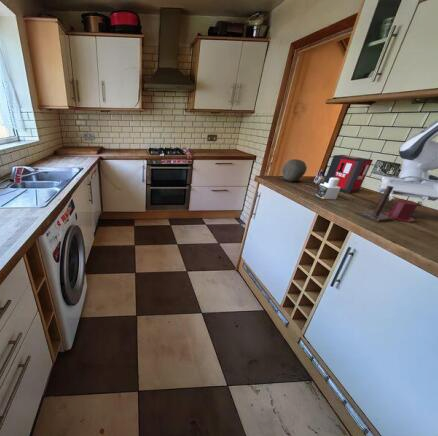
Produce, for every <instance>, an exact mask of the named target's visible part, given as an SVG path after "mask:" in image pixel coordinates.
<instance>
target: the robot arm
mask: <svg viewBox="0 0 438 436" xmlns="http://www.w3.org/2000/svg"><path fill="white" fill-rule="evenodd" d="M436 137H438V119H436V120H435V121H434V122H433V123H431V124H429V125H428V126H427V127H425V128H424V129H423V130H422V131H420V132H419V133H417V134H416V135H414V136H412V137H410V138H409V139H407V140H405V141H404V142H403V143H402V144H401V145H400V146H399V148H398V154H399V157H400V158H401V159H403V161H402V163H401V170H399V171H400V172H399V173H398V175H397V176H396V175H389V174H386V175H383V176H382V177H381V178H380V182H381V183H380V185H379V187H378V189H377V190H378V191H379V192H380V193H384V192H385V190H386V188H387V186H393V189H392V191H391V193H390V195H389V197H388V201H389V202H394V201H395V199H396V196H393V195H397V196H402V197H409V198H415V199H421V200H419V201H417V202H416V203H418V204H417V207H423V206H424V203H426V201H438V176H437V175H433V174H431V173H428V172H429V171H433V170H437V169H438V141H434V139H435V138H436Z"/></svg>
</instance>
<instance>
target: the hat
mask: <svg viewBox="0 0 438 436" xmlns="http://www.w3.org/2000/svg"><path fill="white" fill-rule="evenodd" d="M417 204H418V203H417V202H416V201H413V200H409V199H402V198H401V199H399V198H398V199H397V200H396V201H395V203H394V205H393V207H392V209H391V210H390V211H384V212H383V213H382V214H384V215H386V216H389V217H392V218H394V220H396V221H398V222H399V221H400V222H404V223H415V222H416V221H417V220H416V219H415V218H414V217H412V215H413V214H414V212H415V211H416V209H417V207H418V206H417Z"/></svg>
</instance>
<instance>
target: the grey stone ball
mask: <svg viewBox="0 0 438 436" xmlns="http://www.w3.org/2000/svg"><path fill="white" fill-rule="evenodd" d="M307 168H308V167H307V164H306V162H305V161H303V160H301V159H297V158H296V159H295V158H293V159H289V160H287V161H286V162H285V163H284V165H283V166H282V169H281V175H282V177H283V179H284V180H285V181H287V182H291V183H293V182H296V181H299V180H300V179H301V178H302V177H304V175H305V174H306V172H307Z"/></svg>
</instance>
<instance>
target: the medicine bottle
mask: <svg viewBox="0 0 438 436" xmlns="http://www.w3.org/2000/svg"><path fill="white" fill-rule="evenodd" d="M325 178H326V179H325ZM325 178H324V180H325V182H324V181H323V183H324V184H323V183H318V187H317V190H316V193H315V196H316V197H319V198H321V199H322V200H337V198H338V194H339V193H340V187H338V186H336V185H337V184H338V182H339V178H337V177H333V176H328V177H326V176H325Z"/></svg>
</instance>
